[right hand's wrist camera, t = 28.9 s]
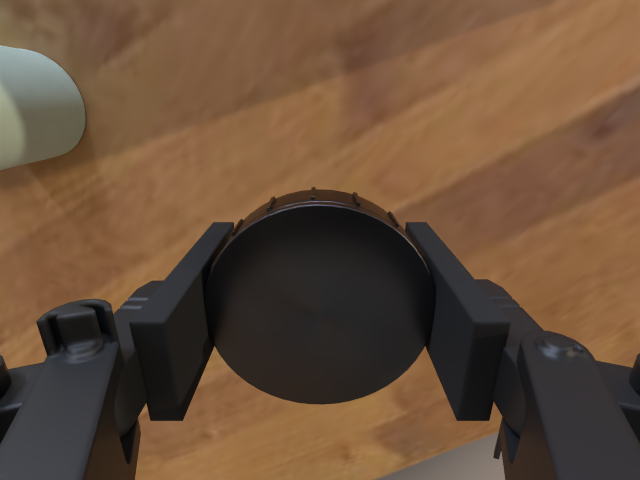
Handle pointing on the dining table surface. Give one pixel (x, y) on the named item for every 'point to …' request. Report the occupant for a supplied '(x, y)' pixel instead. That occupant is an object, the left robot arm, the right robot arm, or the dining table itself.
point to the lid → (319, 298)
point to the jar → (36, 108)
